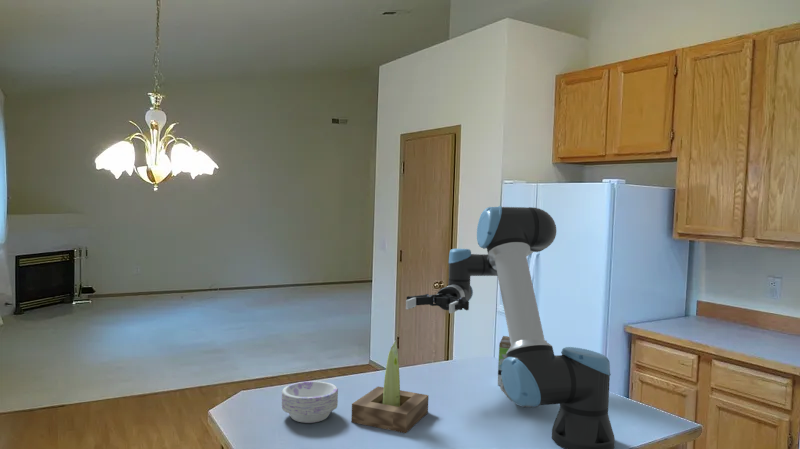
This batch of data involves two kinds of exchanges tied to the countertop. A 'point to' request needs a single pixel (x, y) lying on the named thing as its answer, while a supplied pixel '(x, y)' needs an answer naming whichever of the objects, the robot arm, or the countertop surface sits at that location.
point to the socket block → (390, 410)
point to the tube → (392, 379)
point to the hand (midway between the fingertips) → (428, 306)
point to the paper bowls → (309, 400)
